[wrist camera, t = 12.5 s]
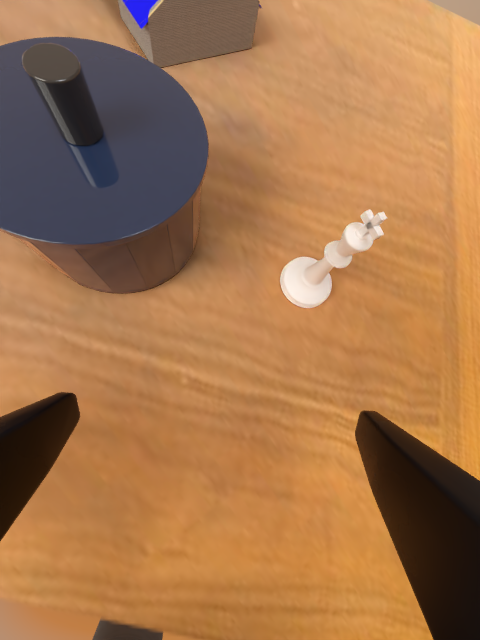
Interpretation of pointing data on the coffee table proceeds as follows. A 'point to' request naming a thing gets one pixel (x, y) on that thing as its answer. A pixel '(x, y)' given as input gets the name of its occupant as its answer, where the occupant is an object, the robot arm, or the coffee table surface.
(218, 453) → the coffee table surface
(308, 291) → the chess piece
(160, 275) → the pot
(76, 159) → the pot lid
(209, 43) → the toy house
